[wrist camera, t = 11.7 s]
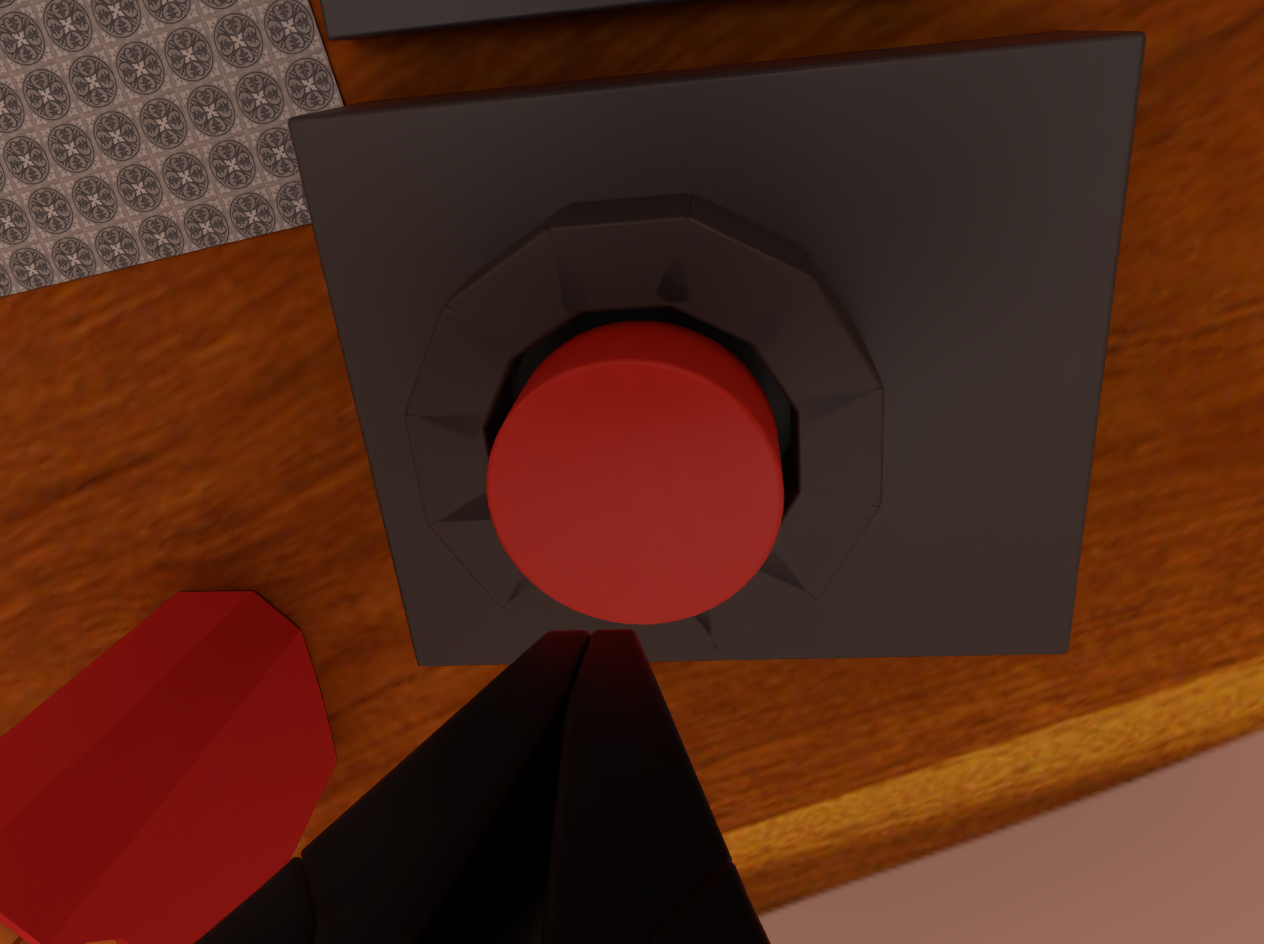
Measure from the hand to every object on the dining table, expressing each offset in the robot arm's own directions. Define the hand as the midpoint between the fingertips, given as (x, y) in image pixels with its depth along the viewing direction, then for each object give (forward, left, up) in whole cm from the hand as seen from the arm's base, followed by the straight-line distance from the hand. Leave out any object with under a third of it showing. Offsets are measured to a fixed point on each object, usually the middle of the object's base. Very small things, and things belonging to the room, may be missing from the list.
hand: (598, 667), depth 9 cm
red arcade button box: (-1, 0, -10) cm, 10 cm away
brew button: (0, 0, -6) cm, 6 cm away
